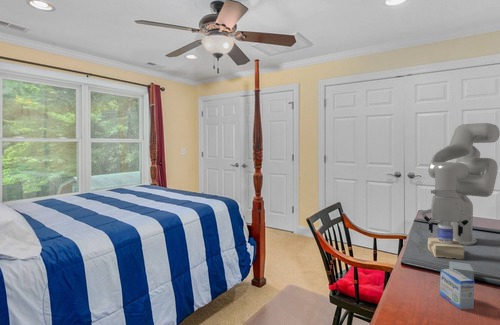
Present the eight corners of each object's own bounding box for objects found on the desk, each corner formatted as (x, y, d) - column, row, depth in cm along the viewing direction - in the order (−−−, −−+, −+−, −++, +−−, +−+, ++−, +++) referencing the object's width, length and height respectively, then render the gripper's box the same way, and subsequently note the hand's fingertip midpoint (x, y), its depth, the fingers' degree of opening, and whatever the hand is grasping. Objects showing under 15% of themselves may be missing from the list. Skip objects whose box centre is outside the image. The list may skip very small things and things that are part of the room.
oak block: (427, 248, 126) (427, 237, 125) (453, 249, 123) (453, 238, 123) (435, 257, 116) (435, 245, 116) (463, 259, 113) (464, 247, 113)
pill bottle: (455, 244, 116) (456, 221, 115) (441, 244, 117) (441, 221, 116) (448, 240, 121) (449, 217, 120) (435, 239, 122) (435, 217, 122)
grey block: (449, 271, 104) (449, 261, 104) (469, 274, 101) (469, 263, 101) (452, 279, 99) (452, 268, 98) (473, 282, 96) (474, 271, 96)
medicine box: (439, 295, 89) (439, 269, 88) (452, 294, 89) (453, 267, 89) (460, 310, 81) (460, 281, 80) (474, 308, 81) (475, 280, 81)
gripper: (421, 194, 119) (421, 233, 120) (473, 196, 110) (472, 239, 111) (421, 190, 125) (421, 228, 127) (470, 193, 116) (469, 233, 118)
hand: (445, 233), depth 119 cm, fingers open, 9 cm apart
